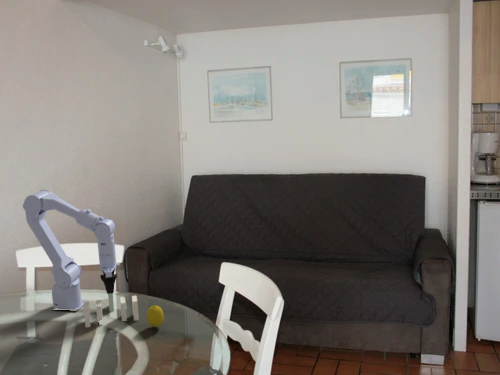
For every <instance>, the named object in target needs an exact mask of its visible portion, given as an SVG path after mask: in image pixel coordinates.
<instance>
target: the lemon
mask: <svg viewBox="0 0 500 375" xmlns="http://www.w3.org/2000/svg"><path fill="white" fill-rule="evenodd" d="M164 316H165V315H164V311H163V309H162V308H161V307H160V306H158V305H156V304H154V305H152V306H150V307H149V308H148V309H147V312H146V320H147V323H148V324H149V325H150V326H151V327H154V328H158V327H159V326H160V325H162V323H163V322H164Z"/></svg>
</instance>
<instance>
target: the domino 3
mask: <svg viewBox="0 0 500 375" xmlns="http://www.w3.org/2000/svg"><path fill="white" fill-rule="evenodd" d="M107 298H108V299H107V300H108V308H109V310H108V311H110V312H115V307H114V306H115V304H114V303H115V302H114V292H113V293H110V294H107Z"/></svg>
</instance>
